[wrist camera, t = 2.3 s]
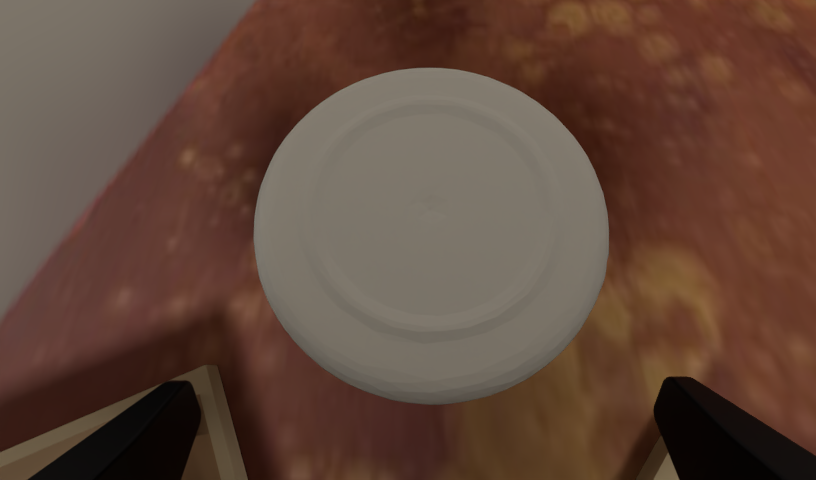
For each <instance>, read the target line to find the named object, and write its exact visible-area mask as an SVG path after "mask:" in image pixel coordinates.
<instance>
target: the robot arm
mask: <svg viewBox="0 0 816 480" xmlns="http://www.w3.org/2000/svg"><path fill="white" fill-rule="evenodd" d="M654 417H655V421H656V423H657V426H658V428H659V431H660V433H661V436H662V438H663V441H664V443H665V446H666V448H667V451H668V453H669V456H670V458H671V460H672V463H673V465H674V468H675V470H676V473H677V475H678V478H679V480H816V456H815V455H813V454H812V453H810V452H809V451H807V450H806V449H804V448H802V447H801V446H799V445H798V444H796V443H794V442H793V441H791V440H790V439H788V438H787V437H785V436H783V435H782V434H780V433H779V432H777V431H776V430H774V429H772V428H771V427H769V426H768V425H766V424H764V423H763V422H761V421H760V420H758V419H757V418H755V417H753V416H752V415H750V414H749V413H747V412H745V411H744V410H742V409H741V408H739V407H738V406H736V405H734V404H733V403H731V402H730V401H728V400H727V399H725V398H723V397H722V396H720V395H719V394H717V393H715V392H714V391H712V390H711V389H709V388H708V387H706V386H704V385H703V384H701V383H700V382H698V381H696V380H695V379H693V378H691V377H667V378H666V379H665V380H664V381H663V383H662V386H661V389H660V391H659V394H658V397H657V399H656V402H655V405H654ZM200 422H201V408H200V405H199V402H198V399H197V396H196V393H195V391H194V388H193V385H192V383H191V382H189V381H187V380H170V381H166V382H164V383H162V384H161V385H159V386H158V387H157V388H155V389H154V390H152V391H151V392H150V393H148V394H147V395H145V396H144V397H143V398H141V399H140V400H138V401H137V402H136V403H134V404H133V405H131V406H130V407H129V408H127V409H126V410H124V411H123V412H122V413H120V414H119V415H117V416H116V417H114V418H113V419H112V420H110V421H109V422H107V423H106V424H105V425H103V426H102V427H100V428H99V429H98V430H96V431H95V432H93V433H92V434H91V435H89V436H88V437H86V438H85V439H84V440H82V441H81V442H79V443H78V444H77V445H75V446H74V447H72V448H71V449H69V450H68V451H67V452H65V453H64V454H62V455H61V456H60V457H58V458H57V459H55V460H54V461H53V462H51V463H50V464H48V465H47V466H46V467H44V468H43V469H41V470H40V471H39V472H37V473H36V474H34V475H33V476H32V477H30V478H29V479H27V480H181V479H182V476H183V473H184V470H185V467H186V464H187V461H188V458H189V455H190V452H191V449H192V446H193V443H194V440H195V437H196V434H197V431H198V428H199V425H200Z"/></svg>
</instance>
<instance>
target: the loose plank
mask: <svg viewBox="0 0 816 480" xmlns="http://www.w3.org/2000/svg"><path fill="white" fill-rule="evenodd" d="M635 480H679V478H678V475H677V473H676V470H675V468H674V465H673V463H672V460H671V458H670V456H669V453H668V451H667V448H666V446H665V443H664V441H663V438H662V436H661V435H660V437H659V439H658V440H657V442H656V444H655V446H654V448H653V449H652V451H651V453H650V455H649V456H648V458H647V460H646V462H645V464H644V465H643V467H642V469H641V471H640V472H639V474H638V476H637V478H636V479H635Z"/></svg>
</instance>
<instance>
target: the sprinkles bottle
mask: <svg viewBox="0 0 816 480" xmlns="http://www.w3.org/2000/svg"><path fill="white" fill-rule="evenodd" d="M254 248H255V256H256V261H257V267H258V273H259V278H260V281H261V284H262V286H263V289H264V292H265V295H266V297H267V299H268V302H269V304H270V306H271V307H272V309H273V311H274V313H275V315H276V316H277V318H278V320H279V321H280V323H281V324H282V326H283V327H284V329H285V330H286V331H287V333H288V334H289V335H290V336H291V338H292V339H293V340H294V341H295V343H296V344H297V345H298V346H299V347H300V348H301V349H302V350H303V351H304V352H305V353H306V354H307V355H308V356H309V357H311V358H312V359H313V360H314V361H315V362H316V363H317V364H319V365H320V366H321V367H322V368H323V369H325V370H326V371H328V372H329V373H331V374H332V375H334V376H336V377H337V378H339V379H340V380H342V381H344V382H346V383H348V384H350V385H352V386H354V387H356V388H359V389H361V390H363V391H366V392H368V393H372V394H375V395H378V396H381V397H384V398H387V399H390V400H395V401H401V402H406V403H416V404H429V405H437V404H451V403H458V402H466V401H470V400H475V399H479V398H483V397H487V396H490V395H493V394H495V393H498V392H501V391H504V390H506V389H508V388H510V387H512V386H514V385H516V384H518V383H520V382H522V381H524V380H526V379H528V378H529V377H531V376H532V375H534V374H535V373H536V372H538V371H539V370H541V369H542V368H544V367H545V366H546V365H548V364H549V363H550V362H551V361H552V360H553V359H554V358H556V357H557V356H558V355H559V354H560V353H561V352H562V351H563V350H564V349H565V348H566V347H567V346H568V345H569V343H570V342H571V341H572V340H573V339H574V337H575V336H576V334H577V333H578V332H579V330H580V329H581V327H582V326H583V324H584V322H585V321H586V319H587V317H588V315H589V314H590V312H591V310H592V308H593V306H594V305H595V302H596V300H597V297H598V295H599V292H600V289H601V287H602V284H603V282H604V278H605V273H606V265H607V259H608V255H609V224H608V213H607V208H606V204H605V199H604V194H603V191H602V189H601V186H600V183H599V181H598V178H597V175H596V173H595V170H594V168H593V166H592V164H591V162H590V160H589V158H588V156H587V155H586V153H585V152H584V150H583V149H582V147H581V146H580V144H579V143H578V142H577V140H576V139H575V138H574V136H573V135H572V134H571V133H570V132H569V131H568V129H567V128H566V127H565V126H564V125H563V124H562V123H561V122H560V121H559V120H558V119H557V118H556V117H555V116H554V115H553V114H552V113H551V112H549V111H548V110H547V109H546V108H544V107H543V106H542V105H540V104H539V103H538V102H537V101H535V100H534V99H532V98H530V97H529V96H527V95H526V94H524V93H523V92H521V91H519V90H517V89H515V88H513V87H511V86H509V85H506V84H504V83H502V82H499V81H497V80H495V79H492V78H490V77H486V76H483V75H479V74H475V73H472V72H467V71H462V70H456V69H446V68H413V69H404V70H397V71H392V72H387V73H383V74H379V75H376V76H373V77H370V78H367V79H363V80H361V81H359V82H357V83H354V84H352V85H350V86H348V87H346V88H344V89H342V90H340V91H338V92H336V93H335V94H333V95H332V96H330V97H329V98H327V99H326V100H324V101H323V102H321V103H320V104H319V105H317V106H316V107H315V108H314V109H312V110H311V111H310V112H309V113H308V114H307V115H306V116H305V117H304V118H302V119H301V120H300V121H299V122H298V123H297V125H296V126H295V127H294V128H293V129H292V130H291V132H290V133H289V134H288V135H287V136H286V138H285V139H284V140H283V142H282V143H281V145H280V146H279V148H278V149H277V151H276V152H275V154H274V156H273V158H272V160H271V162H270V164H269V167H268V169H267V171H266V174H265V176H264V179H263V181H262V184H261V187H260V191H259V195H258V199H257V205H256V211H255V217H254Z"/></svg>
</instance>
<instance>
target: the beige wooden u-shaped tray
mask: <svg viewBox="0 0 816 480" xmlns="http://www.w3.org/2000/svg"><path fill="white" fill-rule="evenodd" d="M171 380H187V381H189V382H191V383H192V385H193V388H194V391H195V393H196V396H197V399H198V402H199V405H200V408H201V422H200V425H199V428H198V431H197V434H196V437H195V440H194V443H193V446H192V449H191V452H190V455H189V458H188V461H187V464H186V467H185V470H184V473H183V476H182V479H181V480H248V478H247V474H246V471H245V467H244V463H243V459H242V456H241V452H240V448H239V445H238V441H237V437H236V433H235V430H234V426H233V422H232V419H231V415H230V411H229V407H228V404H227V400H226V396H225V392H224V389H223V385H222V381H221V378H220V374H219V370H218V366H217V365H204V366H201V367H199V368H197V369H194V370H192V371H190V372H187V373H185V374H183V375H180V376H178V377H176V378H173V379H171ZM169 381H170V380H169ZM159 385H161V384H159ZM159 385H157V386H154V387H152V388H150V389H147V390H145V391H143V392H140V393H138V394H136V395H133V396H131V397H129V398H126V399H124V400H122V401H119V402H117V403H115V404H112V405H110V406H108V407H105V408H103V409H101V410H98V411H96V412H94V413H91V414H89V415H87V416H84V417H82V418H80V419H77V420H75V421H72V422H70V423H68V424H65V425H63V426H61V427H58V428H56V429H54V430H51V431H49V432H47V433H44V434H42V435H40V436H37V437H35V438H33V439H30V440H28V441H26V442H23V443H21V444H19V445H16V446H14V447H12V448H9V449H7V450H5V451H2V452H0V480H27V479H29V478H30V477H32V476H33V475H34V474H36V473H37V472H39V471H40V470H41V469H43V468H44V467H46V466H47V465H48V464H50V463H51V462H53V461H54V460H55V459H57V458H58V457H60V456H61V455H62V454H64V453H65V452H67V451H68V450H69V449H71V448H72V447H74V446H75V445H77V444H78V443H79V442H81V441H82V440H84V439H85V438H86V437H88V436H89V435H91V434H92V433H93V432H95V431H96V430H98V429H99V428H100V427H102V426H103V425H105V424H106V423H107V422H109V421H110V420H112V419H113V418H114V417H116V416H117V415H119V414H120V413H122V412H123V411H124V410H126V409H127V408H129V407H130V406H131V405H133V404H134V403H136V402H137V401H138V400H140V399H141V398H143V397H144V396H145V395H147V394H148V393H150V392H151V391H152V390H154V389H155V388H157V387H158V386H159Z"/></svg>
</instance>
